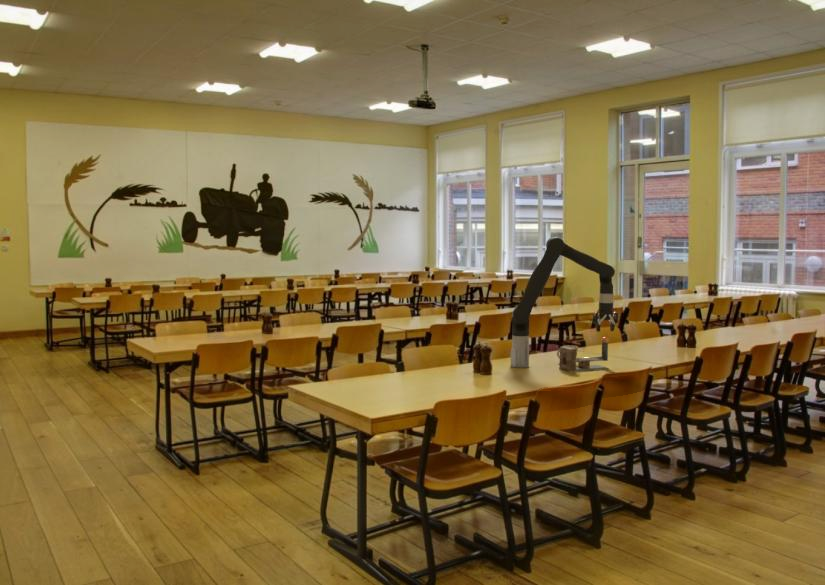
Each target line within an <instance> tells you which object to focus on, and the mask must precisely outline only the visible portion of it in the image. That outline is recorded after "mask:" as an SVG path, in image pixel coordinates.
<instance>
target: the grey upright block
mask: <svg viewBox="0 0 825 585" xmlns="http://www.w3.org/2000/svg"><path fill="white" fill-rule="evenodd" d="M563 346H564V347H563ZM563 346H560V347H559V349H560V352H559V356H560V359H559V367H560V370H563V371H566V370H567V371H566V372H569V371H572V370H576V366H577V362H576V358H577V357H576V349H574V348H571V347H567V346H565V345H563ZM562 368H563V369H562ZM569 373H570V372H569Z"/></svg>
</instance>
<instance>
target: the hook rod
mask: <svg viewBox="0 0 825 585" xmlns="http://www.w3.org/2000/svg"><path fill="white" fill-rule="evenodd" d="M609 340H610V339H609V337H607V336H603V337H601V341H600V342H601V356H586V357H576V363H578V362H582V360H590V363H591V362H601V361H602V362H605V361H608V360H609V359H608V358H609V353H608V352H609Z"/></svg>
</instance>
